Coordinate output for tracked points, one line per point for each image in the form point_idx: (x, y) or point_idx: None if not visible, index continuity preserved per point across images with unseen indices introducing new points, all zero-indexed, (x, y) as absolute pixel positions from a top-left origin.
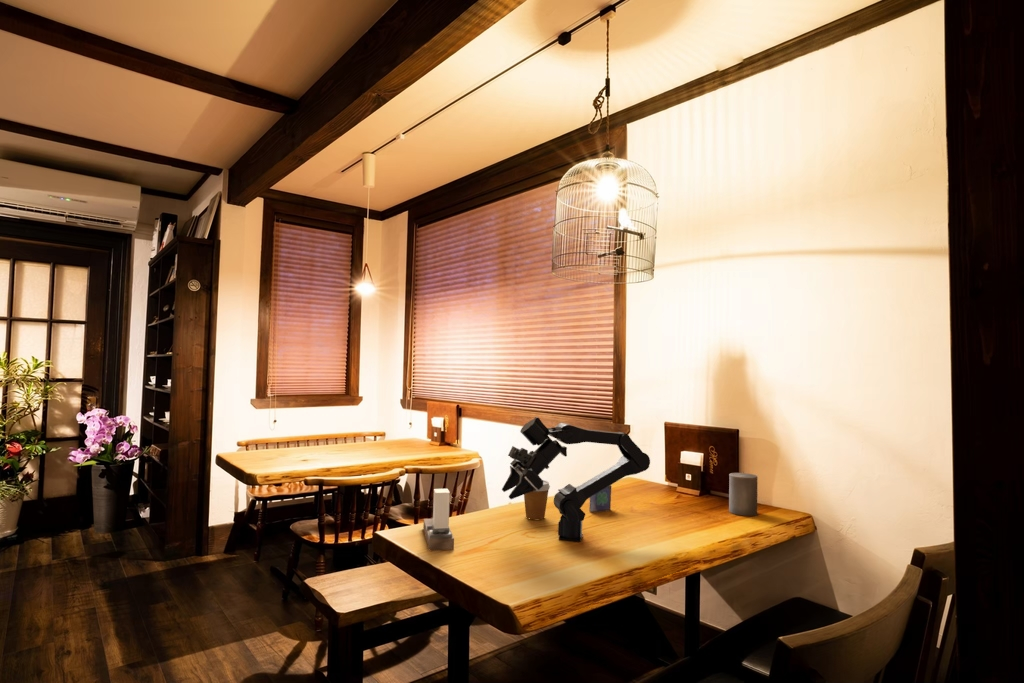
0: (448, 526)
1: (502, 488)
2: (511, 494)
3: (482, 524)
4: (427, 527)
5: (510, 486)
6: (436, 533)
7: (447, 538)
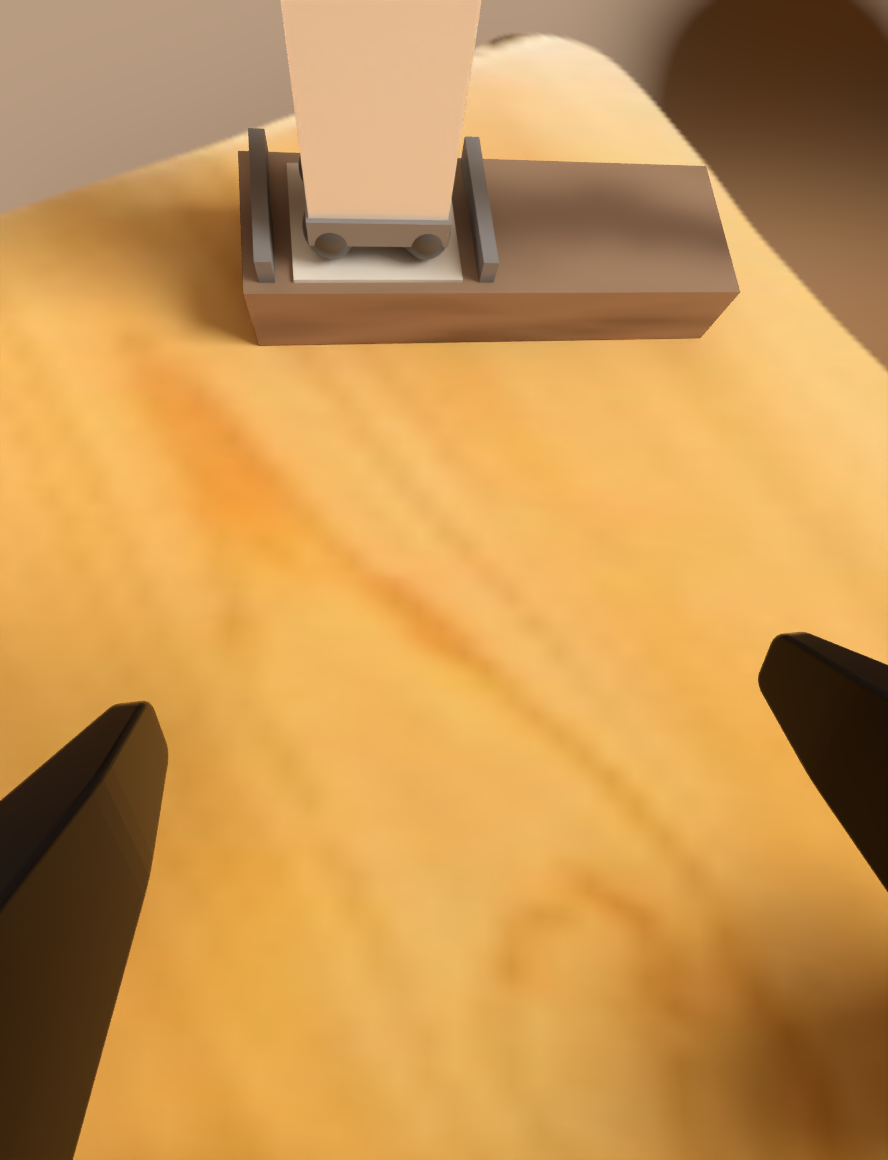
0: (307, 206)
1: (806, 640)
2: (54, 768)
3: (802, 579)
4: (463, 146)
5: (885, 831)
6: (300, 174)
7: (249, 253)
